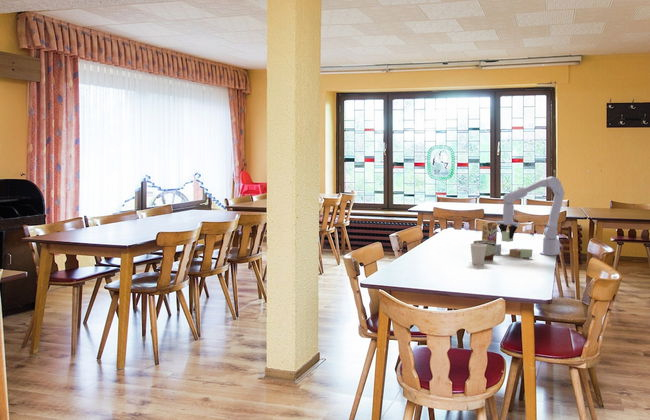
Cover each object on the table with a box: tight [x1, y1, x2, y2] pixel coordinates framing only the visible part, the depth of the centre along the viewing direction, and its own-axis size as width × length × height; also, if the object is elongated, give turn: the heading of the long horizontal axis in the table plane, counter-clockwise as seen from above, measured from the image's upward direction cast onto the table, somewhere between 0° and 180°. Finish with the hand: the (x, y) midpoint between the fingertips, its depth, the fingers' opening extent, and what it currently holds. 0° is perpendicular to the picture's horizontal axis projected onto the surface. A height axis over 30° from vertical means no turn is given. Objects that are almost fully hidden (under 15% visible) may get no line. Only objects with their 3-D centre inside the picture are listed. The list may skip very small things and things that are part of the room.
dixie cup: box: [469, 243, 487, 265], centre depth 327 cm, size 8×8×10 cm
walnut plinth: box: [509, 248, 522, 259], centre depth 351 cm, size 6×6×4 cm
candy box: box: [481, 221, 498, 244], centre depth 386 cm, size 9×4×15 cm, turn 123°
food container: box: [472, 239, 497, 262], centre depth 340 cm, size 12×6×10 cm, turn 65°
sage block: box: [501, 230, 514, 243], centre depth 363 cm, size 4×4×6 cm
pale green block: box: [520, 248, 533, 260], centre depth 345 cm, size 3×6×5 cm, turn 72°
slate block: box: [494, 243, 502, 256], centre depth 360 cm, size 4×4×6 cm
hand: (507, 238), depth 363 cm, fingers closed on sage block, 4 cm apart
